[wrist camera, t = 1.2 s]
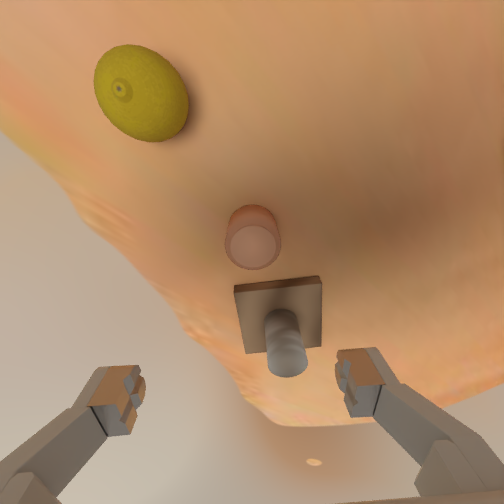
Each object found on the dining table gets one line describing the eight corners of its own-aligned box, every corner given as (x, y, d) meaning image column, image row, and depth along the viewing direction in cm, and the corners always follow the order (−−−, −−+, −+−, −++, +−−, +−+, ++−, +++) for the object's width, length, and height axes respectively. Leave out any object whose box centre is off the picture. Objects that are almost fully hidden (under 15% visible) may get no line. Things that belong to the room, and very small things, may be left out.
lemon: (210, 103, 20) (190, 88, 13) (171, 154, 22) (135, 164, 15) (155, 45, 18) (96, -11, 11) (118, 104, 20) (46, 89, 13)
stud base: (318, 276, 28) (340, 321, 21) (318, 337, 33) (336, 390, 26) (234, 285, 29) (230, 332, 22) (245, 345, 33) (245, 399, 26)
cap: (273, 201, 24) (279, 217, 20) (277, 246, 26) (283, 268, 22) (224, 207, 24) (219, 224, 20) (232, 251, 27) (229, 274, 22)
